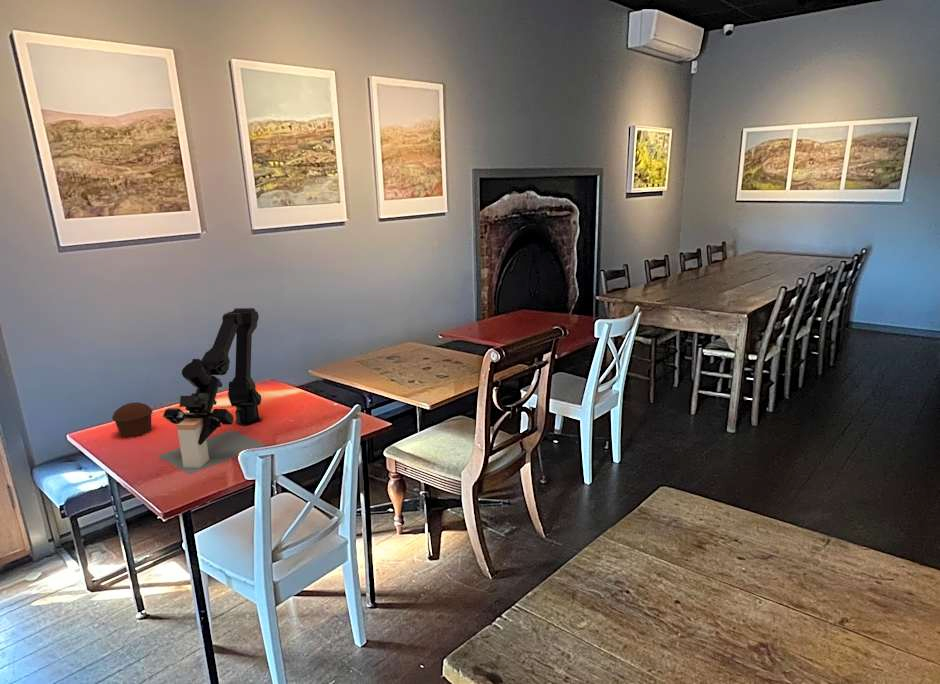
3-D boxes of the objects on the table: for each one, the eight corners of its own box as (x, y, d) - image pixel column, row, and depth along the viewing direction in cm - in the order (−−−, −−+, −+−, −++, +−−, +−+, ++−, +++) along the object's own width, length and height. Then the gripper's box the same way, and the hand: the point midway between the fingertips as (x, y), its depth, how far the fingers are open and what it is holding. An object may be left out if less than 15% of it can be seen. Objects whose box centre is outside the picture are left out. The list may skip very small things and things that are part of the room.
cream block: (193, 459, 171) (186, 418, 168) (209, 459, 170) (203, 418, 167) (183, 467, 166) (176, 424, 163) (200, 467, 165) (193, 425, 162)
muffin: (149, 423, 201) (144, 396, 198) (160, 431, 193) (156, 403, 191) (110, 433, 192) (105, 405, 190) (121, 443, 185) (115, 413, 182)
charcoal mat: (232, 431, 192) (232, 430, 192) (266, 446, 180) (266, 444, 180) (157, 456, 174) (157, 455, 174) (189, 475, 162) (189, 474, 162)
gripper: (161, 382, 167) (143, 433, 159) (223, 382, 165) (208, 434, 157) (181, 398, 176) (165, 447, 169) (240, 399, 175) (226, 448, 167)
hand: (190, 444), depth 165 cm, fingers closed on cream block, 5 cm apart
